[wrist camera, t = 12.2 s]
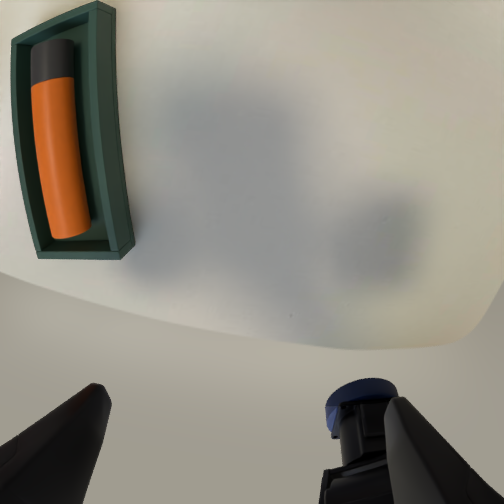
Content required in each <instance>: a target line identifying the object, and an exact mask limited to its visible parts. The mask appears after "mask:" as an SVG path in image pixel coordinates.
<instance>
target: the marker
mask: <svg viewBox="0 0 504 504" xmlns="http://www.w3.org/2000/svg"><path fill="white" fill-rule="evenodd" d="M31 99H32V115H33V127H34V137H35V146H36V154H37V161H38V168H39V175H40V181H41V186H42V192H43V197H44V202H45V207H46V212H47V217H48V221H49V226H50V230H51V234H52V237H53V238H56V239H63V238H69V237H73V236H76V235H79V234H81V233H84V232H85V231H87V230H89V229H90V228H91V226H92V224H91V219H90V213H89V208H88V203H87V197H86V191H85V185H84V179H83V172H82V165H81V157H80V149H79V140H78V130H77V119H76V106H75V88H74V41H73V40H71V39H53V40H48V41H45V42H42V43H40V44H37V45H36V46H34V47H33V48H32V49H31Z"/></svg>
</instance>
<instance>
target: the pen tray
mask: <svg viewBox="0 0 504 504" xmlns="http://www.w3.org/2000/svg"><path fill="white" fill-rule="evenodd" d="M115 14H116V9H115V8H113V7H111V6H109V5H107V4H105V3H103V2H101V1H98V0H96V1H94V2H91V3H88V4H86V5H83V6H80V7H78V8H75V9H73V10H71V11H68V12H66V13H63V14H61V15H59V16H57V17H54V18H52V19H50V20H48V21H46V22H44V23H42V24H40V25H38V26H36V27H34V28H32V29H30V30H28V31H26V32H24V33H22V34H20V35H18V36H17V37H15V38H13V39H12V41H11V46H12V47H11V108H12V122H13V134H14V143H15V151H16V159H17V166H18V172H19V178H20V184H21V190H22V195H23V200H24V205H25V210H26V214H27V218H28V223H29V227H30V231H31V235H32V239H33V243H34V246H35V250H36V253H37V257H38V259H88V260H121V259H122V258H123V257H124V256H125V255H126V254H127V253H128V252H129V251H130V250H131V249H132V248H133V247H134V246H135V241H134V235H133V230H132V224H131V218H130V212H129V205H128V199H127V192H126V185H125V177H124V169H123V161H122V152H121V142H120V132H119V120H118V106H117V89H116V64H115ZM53 39H71V40H73V41H74V88H75V106H76V119H77V130H78V140H79V149H80V157H81V165H82V172H83V179H84V185H85V191H86V197H87V203H88V208H89V213H90V219H91V224H92V226H91V228H90V229H89V230H87V231H85V232H84V233H81V234H79V235H76V236H73V237H69V238H63V239H56V238H53V237H52V234H51V230H50V226H49V221H48V217H47V212H46V207H45V202H44V197H43V192H42V186H41V181H40V175H39V168H38V161H37V154H36V146H35V137H34V127H33V115H32V99H31V49H32V48H33V47H34V46H36V45H37V44H40V43H42V42H45V41H48V40H53Z"/></svg>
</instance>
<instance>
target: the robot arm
mask: <svg viewBox="0 0 504 504" xmlns="http://www.w3.org/2000/svg"><path fill="white" fill-rule="evenodd" d="M111 406H112V403H111V399H110V397H109V395H108V393H107V391H106V389H105V387H104V386H103V385H101V384H97V383H91V384H90V385H88V386H87V387H85V388H84V389H82V390H81V391H80V392H78V393H77V394H76V395H74V396H73V397H71V398H70V399H68V400H67V401H65V402H64V403H63V404H61V405H60V406H58V407H57V408H56V409H54V410H53V411H51V412H50V413H49V414H47V415H46V416H44V417H43V418H41V419H40V420H39V421H37V422H36V423H34V424H33V425H31V426H30V427H28V428H27V429H26V430H24V431H23V432H21V433H20V434H19V435H17V436H16V437H14V438H13V439H11V440H10V441H8V442H6V443H5V444H3V445H2V446H0V504H83V501H84V498H85V494H86V491H87V488H88V485H89V482H90V479H91V476H92V473H93V470H94V467H95V464H96V461H97V458H98V455H99V452H100V450H101V446H102V443H103V439H104V435H105V431H106V427H107V423H108V419H109V415H110V410H111ZM331 438H332V439H340V444H341V453H342V462H343V463H342V464H343V466H342V467H338V468H334V469H327V470H324V473H323V477H322V483H321V491H320V498H319V504H504V498H503V497H502V496H501V495H500V494H498V493H497V492H496V491H495V490H494V489H493V488H492V487H490V486H489V485H488V484H487V483H486V482H485V481H484V480H483V479H482V478H481V477H480V476H479V475H478V474H477V473H476V472H475V471H474V469H472V468H471V467H470V465H469V464H468V463H467V462H466V461H465V460H464V459H463V458H462V457H461V456H460V455H459V454H458V453H457V452H456V451H455V449H454V448H453V447H452V446H451V445H450V444H449V443H448V442H447V441H446V440H445V439H444V438H443V437H442V436H441V435H440V434H439V432H437V430H436V429H435V428H434V427H433V426H432V425H431V424H430V423H429V422H428V421H427V420H426V419H425V418H424V417H423V416H422V415H421V414H420V413H419V411H418V410H417V409H416V408H415V407H414V406H413V405H412V404H411V403H410V402H409V401H408V400H407V399H406V398H405V397H391V398H381V399H371V400H358V401H344V402H341V403H339V405H338V409H337V413H336V417H335V421H334V425H333V429H332V433H331Z"/></svg>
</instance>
